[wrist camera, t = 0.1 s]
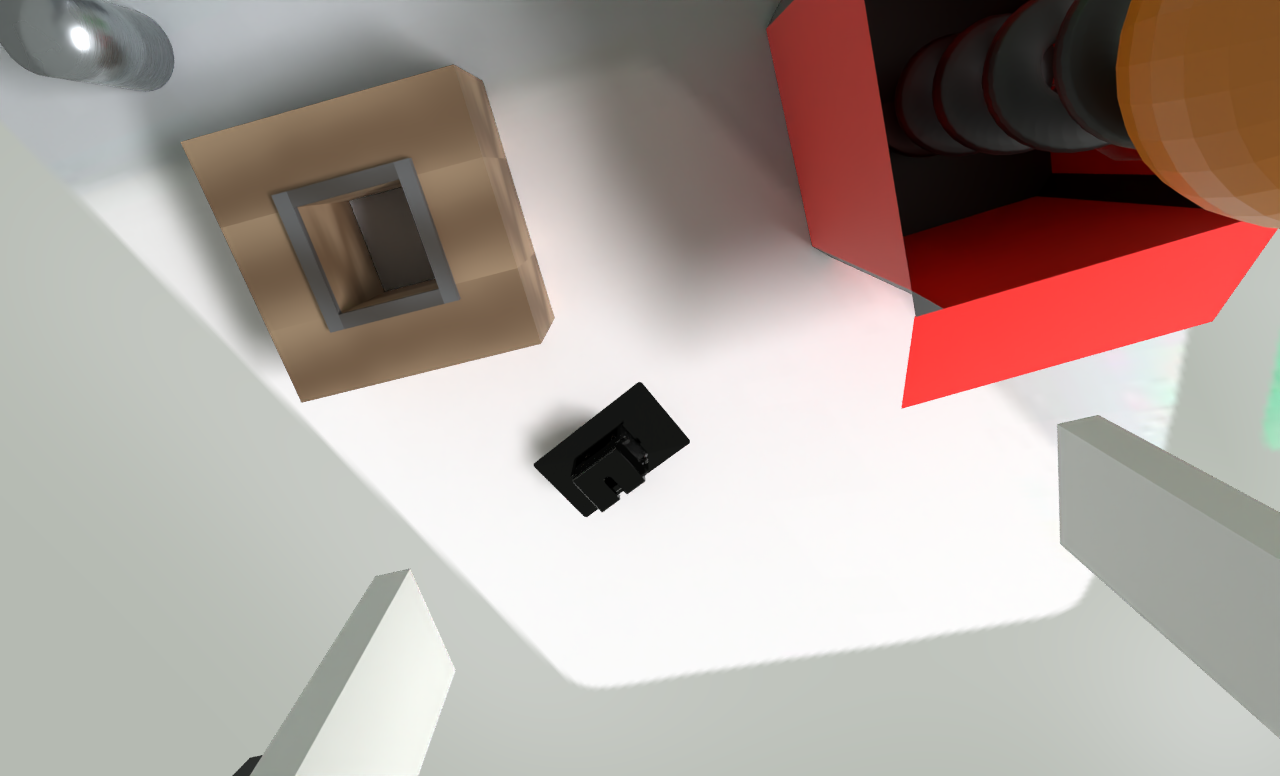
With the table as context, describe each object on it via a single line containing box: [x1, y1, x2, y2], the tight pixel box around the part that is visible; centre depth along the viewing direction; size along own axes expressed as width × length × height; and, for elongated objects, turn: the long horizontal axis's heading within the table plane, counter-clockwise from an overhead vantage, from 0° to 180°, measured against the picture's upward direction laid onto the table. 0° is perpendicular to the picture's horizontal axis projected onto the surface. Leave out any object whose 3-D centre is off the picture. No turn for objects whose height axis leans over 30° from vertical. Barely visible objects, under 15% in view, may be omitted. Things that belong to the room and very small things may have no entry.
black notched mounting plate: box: [534, 382, 690, 517], centre depth 41 cm, size 12×7×5 cm, turn 129°
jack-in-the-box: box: [766, 0, 1280, 409], centre depth 21 cm, size 26×16×30 cm, turn 17°
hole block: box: [181, 65, 554, 402], centre depth 35 cm, size 14×14×6 cm
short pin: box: [0, 0, 174, 91], centre depth 31 cm, size 4×4×6 cm
